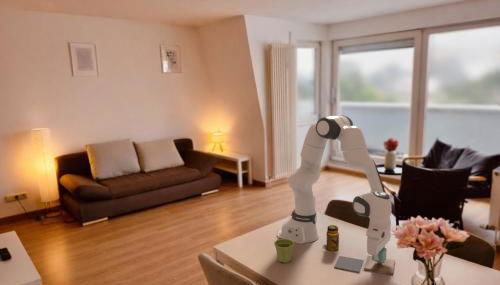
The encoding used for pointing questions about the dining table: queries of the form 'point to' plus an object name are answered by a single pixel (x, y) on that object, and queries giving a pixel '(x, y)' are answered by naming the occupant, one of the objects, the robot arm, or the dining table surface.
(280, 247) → the plant pot
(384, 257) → the teal cube
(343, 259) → the mat
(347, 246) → the dining table surface
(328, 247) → the condiment
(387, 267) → the post
